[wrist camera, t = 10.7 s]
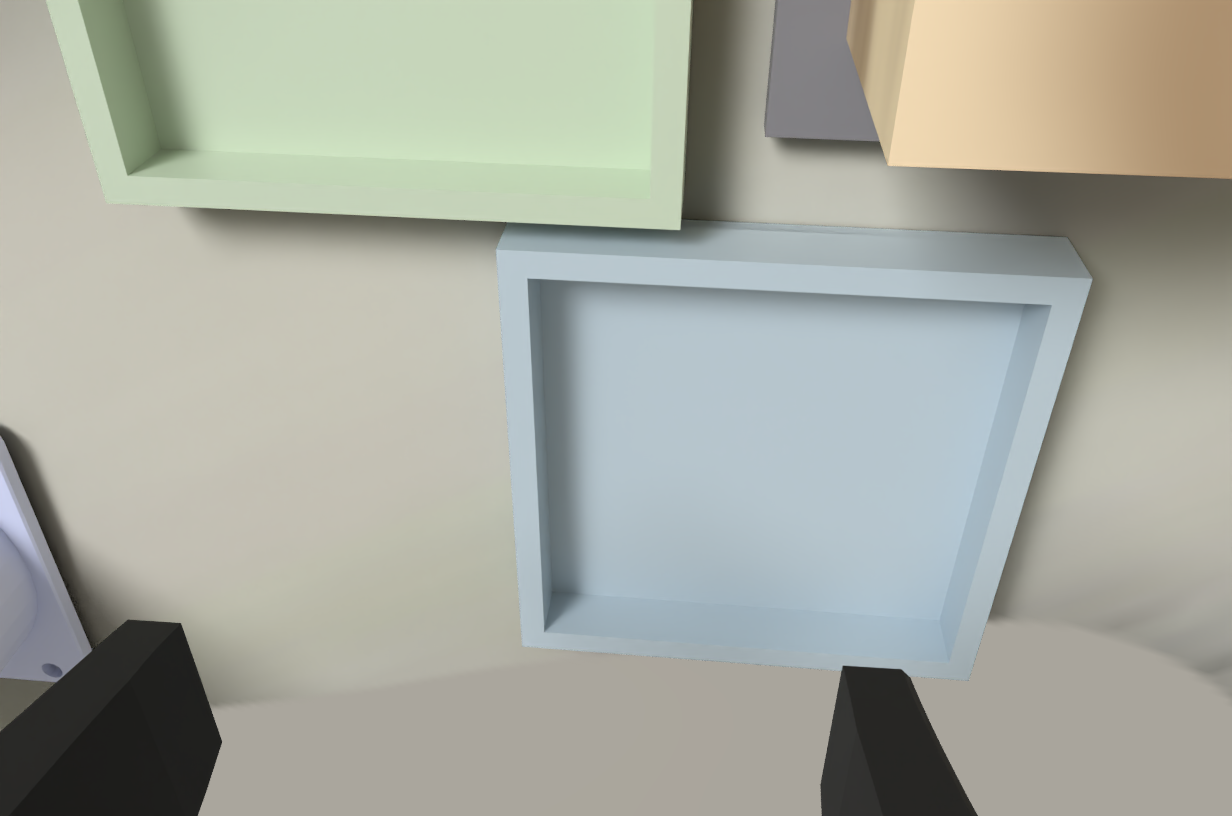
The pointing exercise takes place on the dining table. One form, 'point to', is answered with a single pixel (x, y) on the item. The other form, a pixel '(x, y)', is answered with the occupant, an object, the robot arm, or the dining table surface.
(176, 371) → the dining table surface
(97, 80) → the sage tray
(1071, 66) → the letter block
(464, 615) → the dining table surface
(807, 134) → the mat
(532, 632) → the blue-grey tray
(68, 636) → the robot arm
